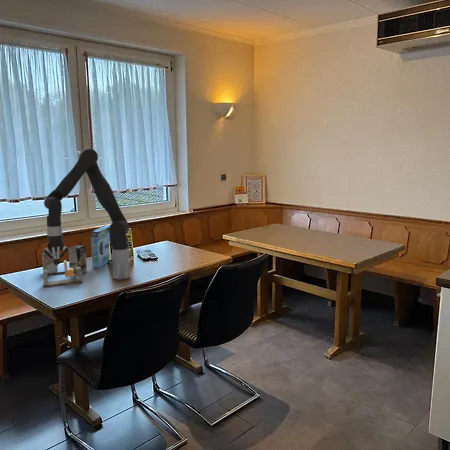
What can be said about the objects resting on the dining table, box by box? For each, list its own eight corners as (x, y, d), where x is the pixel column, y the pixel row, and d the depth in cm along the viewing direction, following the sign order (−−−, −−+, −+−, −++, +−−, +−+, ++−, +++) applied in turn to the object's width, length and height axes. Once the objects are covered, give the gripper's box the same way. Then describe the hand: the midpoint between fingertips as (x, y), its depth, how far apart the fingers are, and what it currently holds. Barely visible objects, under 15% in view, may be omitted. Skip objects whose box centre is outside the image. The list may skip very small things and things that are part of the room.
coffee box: (79, 275, 253) (77, 248, 250) (69, 274, 255) (67, 248, 252) (87, 271, 262) (85, 245, 259) (77, 270, 263) (75, 244, 260)
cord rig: (81, 279, 246) (80, 265, 244) (82, 282, 241) (81, 268, 239) (43, 284, 238) (42, 269, 237) (43, 287, 233) (42, 272, 231)
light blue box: (106, 259, 288) (104, 225, 283) (113, 259, 287) (111, 225, 283) (92, 267, 269) (89, 231, 265) (99, 268, 268) (97, 231, 264)
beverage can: (61, 272, 259) (60, 253, 257) (47, 275, 253) (46, 255, 251) (54, 269, 265) (52, 250, 263) (40, 272, 259) (38, 252, 257)
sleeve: (73, 274, 243) (72, 259, 241) (74, 276, 239) (73, 261, 238) (64, 275, 241) (63, 260, 239) (65, 277, 237) (64, 262, 236)
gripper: (67, 231, 239) (69, 262, 243) (41, 233, 234) (43, 264, 238) (68, 234, 232) (70, 265, 236) (41, 236, 227) (43, 268, 231)
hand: (56, 265), depth 237 cm, fingers closed
